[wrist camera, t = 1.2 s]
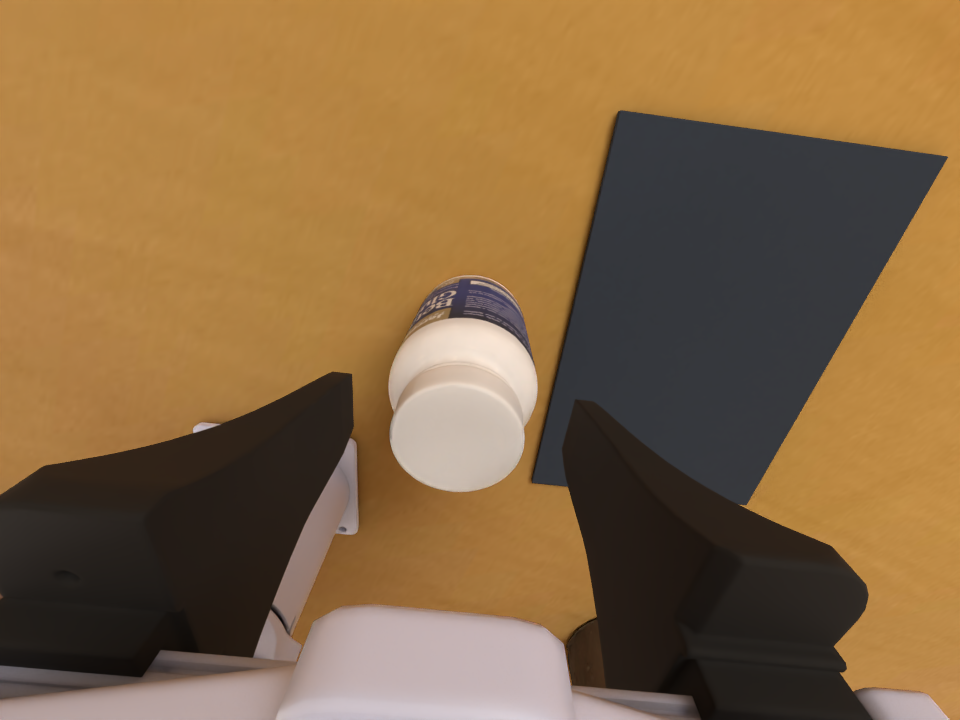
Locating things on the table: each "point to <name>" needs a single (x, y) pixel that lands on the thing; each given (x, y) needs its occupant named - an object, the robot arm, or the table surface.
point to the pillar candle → (586, 657)
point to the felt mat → (723, 287)
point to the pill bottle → (463, 387)
